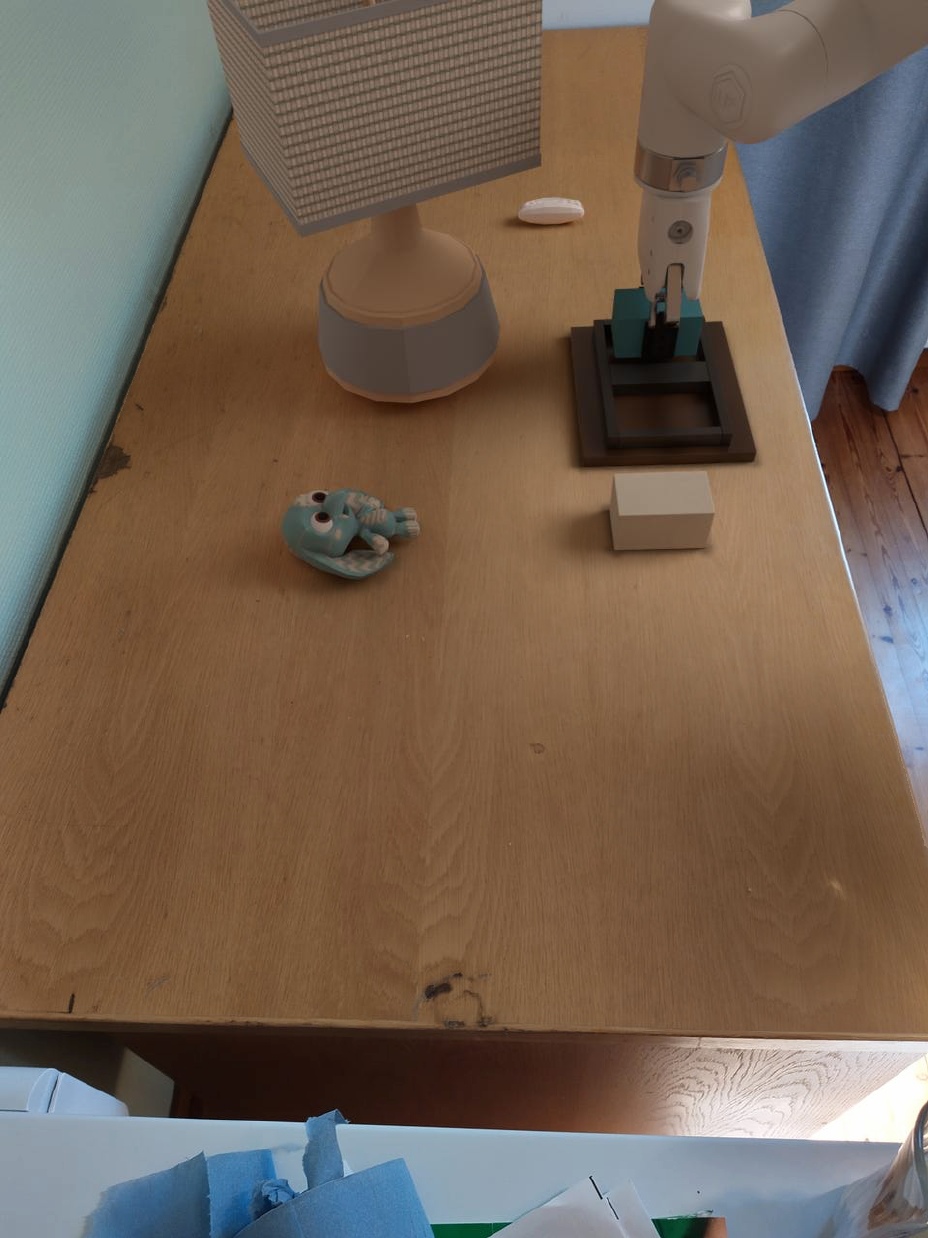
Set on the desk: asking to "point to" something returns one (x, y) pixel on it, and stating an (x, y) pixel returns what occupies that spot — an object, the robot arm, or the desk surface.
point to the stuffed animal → (344, 531)
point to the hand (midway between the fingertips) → (653, 337)
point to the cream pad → (661, 510)
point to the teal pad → (635, 312)
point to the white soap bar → (551, 211)
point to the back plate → (658, 402)
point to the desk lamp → (388, 163)
